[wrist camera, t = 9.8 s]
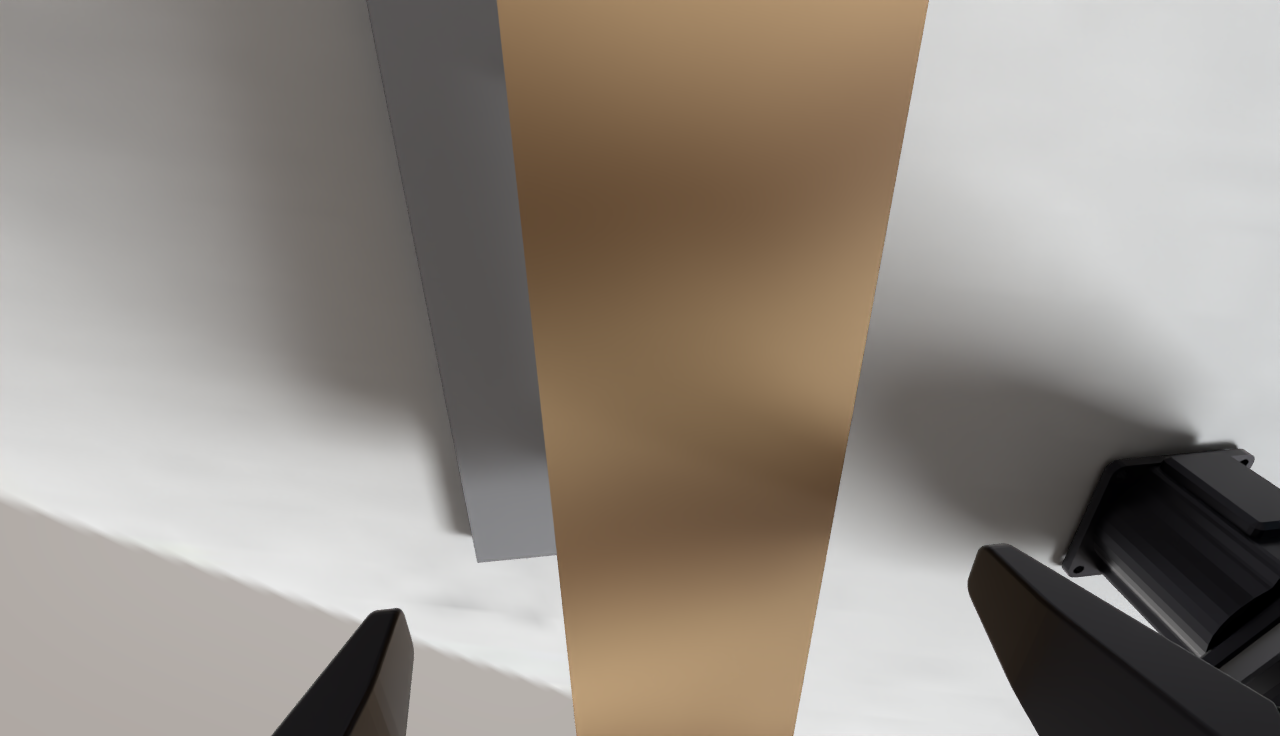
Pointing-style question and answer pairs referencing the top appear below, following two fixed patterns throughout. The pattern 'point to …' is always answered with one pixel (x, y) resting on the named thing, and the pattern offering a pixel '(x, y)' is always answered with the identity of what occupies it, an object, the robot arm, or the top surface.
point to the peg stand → (470, 257)
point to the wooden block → (700, 327)
